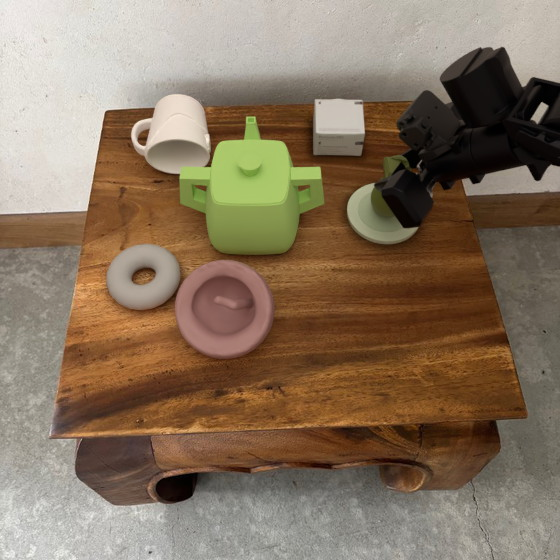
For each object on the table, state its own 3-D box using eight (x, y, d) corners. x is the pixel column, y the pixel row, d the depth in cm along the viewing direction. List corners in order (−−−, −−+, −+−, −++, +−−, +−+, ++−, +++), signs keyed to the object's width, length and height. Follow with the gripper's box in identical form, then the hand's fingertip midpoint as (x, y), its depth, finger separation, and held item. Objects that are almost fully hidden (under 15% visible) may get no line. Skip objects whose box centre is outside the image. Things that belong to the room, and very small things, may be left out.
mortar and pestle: (172, 365, 69) (154, 325, 59) (196, 285, 75) (183, 236, 66) (266, 380, 68) (263, 342, 58) (282, 298, 74) (282, 250, 64)
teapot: (193, 164, 87) (179, 99, 76) (319, 164, 87) (324, 99, 76) (181, 262, 77) (164, 203, 66) (323, 262, 77) (330, 203, 66)
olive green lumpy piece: (407, 224, 79) (422, 176, 71) (370, 225, 79) (381, 177, 70) (401, 195, 82) (415, 145, 74) (366, 195, 82) (375, 146, 73)
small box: (312, 156, 88) (314, 132, 83) (312, 122, 92) (314, 97, 87) (361, 157, 88) (366, 133, 83) (359, 122, 92) (363, 98, 87)
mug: (212, 131, 91) (207, 92, 84) (212, 173, 86) (206, 136, 79) (139, 134, 90) (128, 95, 84) (135, 177, 86) (123, 140, 79)
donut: (190, 302, 74) (173, 244, 79) (186, 290, 71) (169, 230, 76) (116, 323, 72) (104, 263, 77) (109, 312, 69) (97, 249, 74)
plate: (422, 191, 84) (424, 187, 83) (418, 249, 78) (419, 246, 77) (351, 181, 85) (351, 177, 84) (341, 238, 79) (342, 234, 79)
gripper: (485, 44, 63) (386, 88, 76) (412, 141, 55) (315, 172, 68) (526, 122, 68) (425, 151, 80) (463, 223, 60) (363, 237, 72)
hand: (384, 175), depth 75 cm, fingers closed on olive green lumpy piece, 5 cm apart
